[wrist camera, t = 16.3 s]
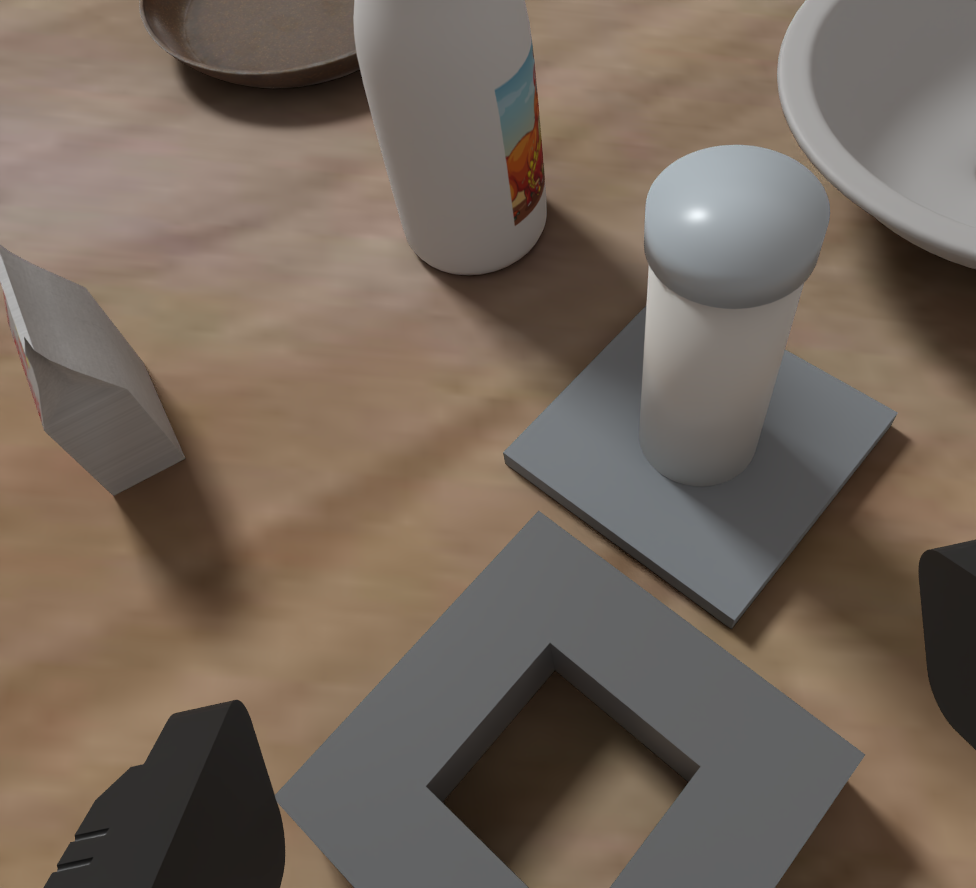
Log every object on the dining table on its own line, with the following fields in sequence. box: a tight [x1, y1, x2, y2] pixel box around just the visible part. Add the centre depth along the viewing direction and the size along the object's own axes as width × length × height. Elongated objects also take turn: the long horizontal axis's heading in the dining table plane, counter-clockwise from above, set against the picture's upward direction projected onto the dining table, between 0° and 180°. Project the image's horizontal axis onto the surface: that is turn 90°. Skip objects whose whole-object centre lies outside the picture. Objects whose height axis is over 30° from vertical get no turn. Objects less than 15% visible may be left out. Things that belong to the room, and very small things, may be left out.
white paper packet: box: [0, 245, 186, 496], centre depth 39 cm, size 4×7×10 cm, turn 29°
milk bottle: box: [353, 0, 547, 275], centre depth 39 cm, size 8×8×20 cm
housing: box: [275, 511, 865, 888], centre depth 31 cm, size 14×14×4 cm
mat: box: [503, 305, 897, 629], centre depth 39 cm, size 12×12×1 cm
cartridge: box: [639, 145, 830, 487], centre depth 32 cm, size 5×5×14 cm
